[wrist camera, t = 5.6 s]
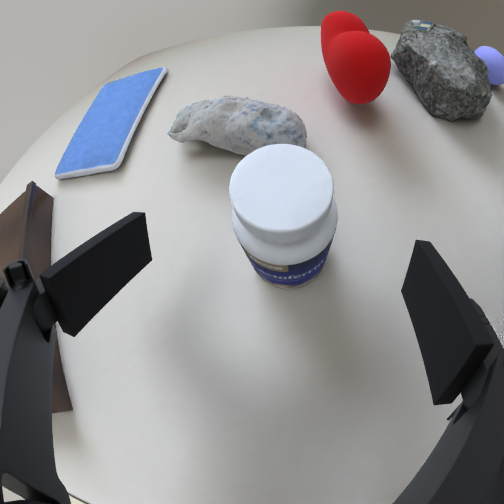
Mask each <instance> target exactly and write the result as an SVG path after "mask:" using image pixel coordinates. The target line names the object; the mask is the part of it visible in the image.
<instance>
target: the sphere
mask: <svg viewBox="0 0 504 504" xmlns="http://www.w3.org/2000/svg"><path fill="white" fill-rule="evenodd" d="M475 54H476V55H477V56H478V57H479V58H481V59H482V60H484V61H485V63H486V65H487V68H488V71H489V72H488V78H489V82H490V84H492V85H501V84H503V83H504V57H503V56H502V55H501V54H500V53H499V52H498V51H497V50H495V49H494V48H491V47H488V46H482V47H479V48H478V49H476V51H475Z"/></svg>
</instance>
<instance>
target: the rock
mask: <svg viewBox="0 0 504 504" xmlns="http://www.w3.org/2000/svg"><path fill="white" fill-rule="evenodd" d="M466 41H467V38H466V37H465V36H464V35H461V34H459V33H458V32H457V31H455V30H453V29H451V28H449V27H446V26H443V25H442V26H440V25H436V24H435V23H433V22H427V21H422V20H413V21H408V22H407V23H405V26H404V28H403V30H402V31H401V36H400V39H399V41H398V43H397V45H396V48H395V49H394V51H393V52H392V54H391V58H392V60H394V62H395V64H396V65H397V66H398V68H399V69H400V70H401V71H402V72H403V74H404V75H405V77H406V79H407V80H408V81H409V82H411V83H412V85H413V86H414V89H415V92H416V94H417V95H418V96H419V98H420V100H421V101H422V102H423V104H424V105H425V107H426V108H427V110H428V111H429V112H430V113H431V114H432V115H433V116H436V117H439V118H444V119H447V120H450V121H452V122H453V121H454V120H456V119H458V118H460V117H464V118H469V119H472V118H480V117H481V116H482V115H483V113H484V112H485V110H486V107H487V105H488V103H489V102H490V99H491V96H492V95H491V86H490V82H489V78H488V72H489V71H488V68H487V65H486V63H485V61H484V60H482V59H481V58H479V57H478V56H477V55H476V54H475V52H474V51H472V50H471V49H470V48H469V47H468V45H467V43H466Z"/></svg>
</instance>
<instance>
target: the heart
mask: <svg viewBox="0 0 504 504" xmlns="http://www.w3.org/2000/svg"><path fill="white" fill-rule="evenodd" d="M321 46H322V53H323V58H324V62H325V65H326V68H327V70H328V73H329V75H330V77H331V79H332V81H333V83H334V85H335V86H336V88H337V89H338V91H339V92H340V94H341V95H342V96H343V97H344V98H345V99H346V100H347V101H348V102H350V103H353V104H365V103H369V102H371V101H373V100H375V99H376V98H377V97H378V96H379V95H380V94H381V92H382V91H383V89H384V88H385V86H386V83H387V81H388V78H389V74H390V68H391V60H390V56H389V53H388V51H387V49H386V47H385V46H384V45H383V43H382V42H381V41H380V40H379V39H377V38H376V37H375V36H373V35H371V34H370V33H369V31H368V29H367V27H366V26H365V24H364V23H363V21H362V20H361V19H360V18H359V17H357V16H356V15H354V14H352V13H349V12H346V11H336V12H332V13H330V14H328V15H327V16H326V17H325V18H324V19H323V21H322V25H321Z"/></svg>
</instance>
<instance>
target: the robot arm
mask: <svg viewBox="0 0 504 504" xmlns="http://www.w3.org/2000/svg"><path fill="white" fill-rule="evenodd" d="M151 261H152V256H151V250H150V244H149V238H148V231H147V224H146V217H145V213H142V212H133V213H131V214H129V215H128V216H126V217H124V218H123V219H121V220H119V221H118V222H116V223H114V224H113V225H111V226H110V227H108V228H106V229H105V230H103V231H102V232H100V233H98V234H97V235H95V236H94V237H92V238H91V239H89V240H88V241H86V242H85V243H83V244H82V245H80V246H79V247H77V248H76V249H74V250H73V251H71V252H70V253H68V254H67V255H66V256H64V257H63V258H61V259H60V260H59V261H57V262H56V263H54V264H53V265H52V266H50V267H49V268H47V269H46V270H45V271H43V272H42V273H41V274H39V276H40V278H38V279H37V280H36V281H35V280H34V277H33V274H32V272H31V269H30V266H29V263H28V261H27V260H26V259H19V260H16V261H14V262H12V263H10V264H9V265H7V266H6V267H5V268H4V269H3V272H4V275H5V277H6V280H7V282H8V285H9V287H8V286H7V284H6V281H5V279H4V278H3V277H0V504H71V502H70V498H69V495H68V492H67V490H66V488H65V486H64V485H63V484H62V482H61V481H60V479H59V478H58V475H57V472H56V466H55V458H54V448H53V435H52V373H53V359H54V348H55V340H56V328H55V326H54V324H55V323H56V322H57V321H58V322H59V324H60V326H61V328H62V330H63V332H65V333H67V334H69V335H71V336H73V337H75V336H76V335H77V334H78V333H79V332H80V331H81V330H82V329H83V327H84V326H85V325H86V324H87V323H88V322H89V321H90V320H91V319H92V318H93V317H94V316H95V315H96V314H97V313H98V312H99V311H100V310H101V309H102V308H103V307H104V306H105V305H106V304H107V303H108V302H109V301H110V300H111V299H112V298H113V297H114V296H115V295H116V294H117V293H118V292H119V291H120V290H121V289H122V288H123V287H124V286H125V285H126V284H127V283H128V282H129V281H130V280H131V279H132V278H134V277H135V276H136V275H137V274H138V273H139V272H140V271H141V270H142V269H143V268H144V267H145V266H146V265H147V264H148V263H149V262H151ZM401 292H402V295H403V298H404V301H405V303H406V306H407V309H408V312H409V315H410V318H411V321H412V324H413V327H414V330H415V333H416V337H417V340H418V343H419V347H420V350H421V354H422V357H423V361H424V365H425V369H426V373H427V377H428V381H429V385H430V390H431V394H432V399H433V404H434V405H440V404H450V403H452V402H453V401H454V400H455V399H456V397H457V396H458V395H459V394H460V393H461V395H462V398H463V401H462V403H461V404H460V405H459V406H458V407H457V408H456V409H455V410H454V412H453V413H452V414H451V415H450V416H449V417H448V418H447V420H448V421H449V420H450V419H451V418H452V419H451V421H450V423H449V425H448V426H447V428H446V430H445V432H444V433H443V435H442V437H441V439H440V440H439V442H438V443H437V445H436V447H435V448H434V450H433V451H432V453H431V454H430V456H429V457H428V459H427V460H426V462H425V463H424V465H423V466H422V468H421V469H420V470H419V472H418V473H417V474H416V476H415V477H414V478H413V480H412V481H411V482H410V484H409V485H408V486H407V487H406V489H405V490H404V491H403V492H402V494H401V495H400V496H399V497H398V498H397V500H396V501H395V502H394V503H393V504H504V349H503V347H502V345H501V343H500V341H499V339H498V337H497V335H496V333H495V331H494V330H493V328H492V326H491V325H490V322H489V321H488V319H487V318H486V316H485V314H484V312H483V311H482V309H481V307H480V306H479V305H478V304H477V303H476V302H475V301H474V300H473V299H469V297H468V296H467V294H466V292H465V291H464V289H463V288H462V286H461V285H460V283H459V282H458V280H457V279H456V277H455V276H454V274H453V273H452V271H451V270H450V268H449V267H448V266H447V264H446V263H445V261H444V260H443V259H442V257H441V256H440V254H439V253H438V252H437V250H436V249H435V248H434V246H433V245H432V244H431V242H428V241H422V240H416V241H415V245H414V249H413V253H412V257H411V260H410V264H409V267H408V271H407V274H406V277H405V280H404V284H403V287H402V290H401ZM2 486H4V487H5V488H7V489H9V490H10V491H12V492H14V493H16V494H18V495H19V496H21V497H23V498H24V499H25V500H17V501H10V502H4V499H3V491H2Z"/></svg>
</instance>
